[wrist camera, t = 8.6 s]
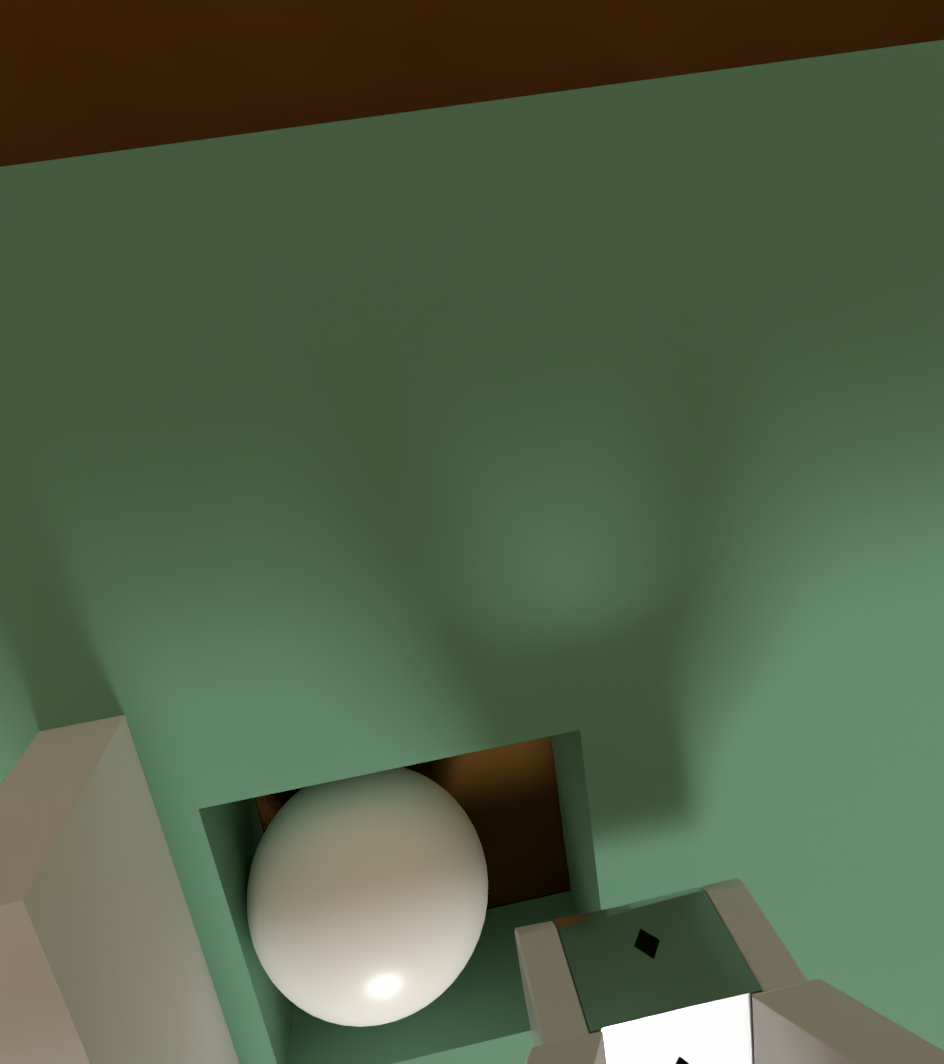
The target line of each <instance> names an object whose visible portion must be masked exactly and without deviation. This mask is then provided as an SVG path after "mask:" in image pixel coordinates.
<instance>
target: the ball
mask: <svg viewBox="0 0 944 1064" xmlns="http://www.w3.org/2000/svg"><path fill="white" fill-rule="evenodd" d="M487 902H488V876H487V866H486V860H485V856H484V852H483V848H482V845H481V842H480V840H479V837H478V835H477V833H476V830H475V828H474V826H473V824H472V822H471V821H470V819H469V817H468V816H467V814H466V812H465V811H464V810H463V809H462V807H461V806H460V805H459V803H458V802H457V801H456V800H455V799H454V798H453V797H452V796H451V795H450V794H449V793H448V792H447V791H446V790H445V789H444V788H442V787H441V786H440V785H438V784H437V783H436V782H434V781H433V780H431V779H429V778H427V777H426V776H424V775H422V774H420V773H418V772H415V771H412V770H410V769H407V768H404V767H399V768H394V769H390V770H385V771H380V772H375V773H370V774H365V775H361V776H356V777H351V778H346V779H341V780H336V781H332V782H327V783H322V784H317V785H312V786H307V787H303V788H302V789H301V790H299V791H298V792H297V793H296V794H295V795H294V796H292V797H291V798H290V799H289V800H288V801H287V802H286V803H285V805H284V806H283V807H282V808H281V809H280V810H279V811H278V813H277V814H276V815H275V817H274V818H273V820H272V821H271V822H270V824H269V826H268V827H267V829H266V831H265V833H264V835H263V836H262V838H261V840H260V843H259V845H258V847H257V850H256V852H255V855H254V858H253V862H252V866H251V870H250V873H249V880H248V888H247V918H248V925H249V930H250V934H251V939H252V943H253V946H254V949H255V951H256V953H257V956H258V958H259V960H260V963H261V965H262V967H263V968H264V970H265V971H266V973H267V975H268V976H269V978H270V979H271V981H272V982H273V983H274V985H275V986H276V987H277V988H278V989H279V990H280V991H281V993H282V994H283V995H284V996H285V997H287V998H288V999H289V1000H290V1001H291V1002H293V1003H294V1004H295V1005H296V1006H297V1007H299V1008H300V1009H302V1010H304V1011H305V1012H307V1013H309V1014H310V1015H312V1016H315V1017H317V1018H320V1019H322V1020H324V1021H327V1022H331V1023H335V1024H339V1025H344V1026H357V1027H364V1026H376V1025H382V1024H386V1023H390V1022H394V1021H397V1020H400V1019H402V1018H405V1017H407V1016H410V1015H412V1014H414V1013H415V1012H417V1011H419V1010H421V1009H422V1008H424V1007H426V1006H427V1005H429V1004H430V1003H431V1002H432V1001H434V1000H435V999H436V998H438V997H439V996H440V995H441V994H442V993H443V992H444V991H445V990H446V989H447V988H448V987H449V986H450V985H451V984H452V983H453V982H454V981H455V979H456V978H457V977H458V975H459V974H460V973H461V971H462V970H463V969H464V967H465V966H466V964H467V962H468V960H469V959H470V957H471V955H472V954H473V951H474V949H475V947H476V944H477V942H478V940H479V937H480V934H481V931H482V927H483V924H484V920H485V915H486V909H487Z"/></svg>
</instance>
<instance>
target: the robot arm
mask: <svg viewBox="0 0 944 1064" xmlns="http://www.w3.org/2000/svg"><path fill="white" fill-rule="evenodd" d="M515 939H516V946H517V952H518V958H519V964H520V971H521V977H522V983H523V990H524V996H525V1001H526V1007H527V1012H528V1018H529V1023H530V1029H531V1034H532V1039H533V1044H534V1047H533V1048H530V1051H529V1054H528V1057H527V1059H526V1062H525V1064H944V1051H943V1050H941V1049H939V1048H938V1047H936V1046H934V1045H933V1044H931V1043H929V1042H927V1041H926V1040H924V1039H922V1038H921V1037H919V1036H917V1035H916V1034H914V1033H912V1032H910V1031H909V1030H907V1029H905V1028H904V1027H902V1026H900V1025H898V1024H897V1023H895V1022H893V1021H892V1020H890V1019H888V1018H886V1017H885V1016H883V1015H881V1014H880V1013H878V1012H876V1011H874V1010H873V1009H871V1008H869V1007H868V1006H866V1005H864V1004H862V1003H861V1002H859V1001H857V1000H856V999H854V998H852V997H850V996H849V995H847V994H845V993H844V992H842V991H840V990H839V989H837V988H835V987H833V986H832V985H830V984H828V983H827V982H825V981H823V980H821V979H815V980H810V981H808V980H807V979H806V977H805V975H804V974H803V972H802V971H801V969H800V968H799V966H798V965H797V963H796V962H795V960H794V959H793V957H792V956H791V954H790V953H789V951H788V949H787V948H786V946H785V945H784V943H783V942H782V940H781V939H780V937H779V936H778V934H777V933H776V931H775V930H774V928H773V927H772V925H771V923H770V922H769V920H768V919H767V917H766V916H765V914H764V913H763V911H762V910H761V908H760V907H759V905H758V904H757V902H756V901H755V899H754V897H753V896H752V894H751V893H750V891H749V890H748V888H747V887H746V885H745V884H744V882H742V881H741V880H739V879H738V878H734V879H730V880H726V881H721V882H717V883H713V884H709V885H705V886H701V887H700V888H697V887H696V888H692V889H688V890H683V891H679V892H675V893H671V894H667V895H662V896H658V897H654V898H650V899H646V900H642V901H637V902H633V903H629V904H626V905H624V906H619V907H614V908H609V909H604V910H599V911H594V912H588V913H583V914H578V915H573V916H568V917H563V918H558V919H554V922H553V921H548V922H543V923H538V924H533V925H528V926H522V927H517V928H515Z"/></svg>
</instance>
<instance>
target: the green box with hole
mask: <svg viewBox="0 0 944 1064" xmlns="http://www.w3.org/2000/svg"><path fill="white" fill-rule="evenodd" d="M549 736H551V743H552V751H553V758H554V766H555V774H556V781H557V789H558V797H559V804H560V812H561V820H562V827H563V835H564V843H565V850H566V858H567V866H568V873H569V881H570V889H571V891H567V892H563V893H558V894H554V895H550V896H545V897H541V898H536V899H532V900H527V901H523V902H518V903H514V904H510V905H505V906H501V907H496V908H492V909H487V910H486V915H485V920H484V924H483V927H482V931H481V934H480V937H479V940H478V942H477V944H476V947H475V949H474V951H473V954H472V955H471V957H470V959H469V960H468V962H467V964H466V966H465V967H464V969H463V970H462V971H461V973H460V974H459V975H458V977H457V978H456V979H455V981H454V982H453V983H452V984H451V985H450V986H449V987H448V988H447V989H446V990H445V991H444V992H443V993H442V994H441V995H440V996H439V997H438V998H436V999H435V1000H434V1001H432V1002H431V1003H430V1004H429V1005H427V1006H426V1007H424V1008H422V1009H421V1010H419V1011H417V1012H415V1013H414V1014H412V1015H410V1016H407V1017H405V1018H402V1019H400V1020H397V1021H394V1022H390V1023H386V1024H382V1025H376V1026H364V1027H357V1026H344V1025H339V1024H335V1023H331V1022H327V1021H324V1020H322V1019H320V1018H317V1017H315V1016H312V1015H310V1014H309V1013H307V1012H305V1011H304V1010H302V1009H300V1008H299V1007H297V1006H296V1005H295V1004H294V1003H293V1002H291V1001H290V1000H289V999H288V998H287V997H285V996H284V995H283V994H282V993H281V991H280V990H279V989H278V988H277V987H276V986H275V985H274V983H273V982H272V981H271V979H270V978H269V976H268V975H267V973H266V971H265V970H264V968H263V967H262V965H261V963H260V960H259V958H258V956H257V953H256V951H255V949H254V946H253V943H252V939H251V934H250V930H249V925H248V918H247V888H248V880H249V873H250V870H251V866H252V862H253V858H254V855H255V852H256V850H257V847H258V845H259V843H260V840H261V838H262V836H263V835H264V830H263V827H262V823H261V820H260V816H259V812H258V809H257V805H256V802H255V798H254V797H259V796H264V795H269V794H274V793H278V792H283V791H288V790H293V789H298V788H303V787H307V786H312V785H317V784H322V783H327V782H332V781H336V780H341V779H346V778H351V777H356V776H361V775H365V774H370V773H375V772H380V771H385V770H390V769H394V768H399V767H404V766H409V765H414V764H419V763H423V762H428V761H433V760H438V759H443V758H448V757H452V756H457V755H462V754H467V753H472V752H477V751H481V750H486V749H491V748H496V747H501V746H506V745H510V744H515V743H520V742H525V741H530V740H535V739H539V738H544V737H549ZM734 878H738V879H739V880H741V881H742V882H744V884H745V885H746V887H747V888H748V890H749V891H750V893H751V894H752V896H753V897H754V899H755V901H756V902H757V904H758V905H759V907H760V908H761V910H762V911H763V913H764V914H765V916H766V917H767V919H768V920H769V922H770V923H771V925H772V927H773V928H774V930H775V931H776V933H777V934H778V936H779V937H780V939H781V940H782V942H783V943H784V945H785V946H786V948H787V949H788V951H789V953H790V954H791V956H792V957H793V959H794V960H795V962H796V963H797V965H798V966H799V968H800V969H801V971H802V972H803V974H804V975H805V977H806V979H807V980H808V981H810V980H815V979H821V980H823V981H825V982H827V983H828V984H830V985H832V986H833V987H835V988H837V989H839V990H840V991H842V992H844V993H845V994H847V995H849V996H850V997H852V998H854V999H856V1000H857V1001H859V1002H861V1003H862V1004H864V1005H866V1006H868V1007H869V1008H871V1009H873V1010H874V1011H876V1012H878V1013H880V1014H881V1015H883V1016H885V1017H886V1018H888V1019H890V1020H892V1021H893V1022H895V1023H897V1024H898V1025H900V1026H902V1027H904V1028H905V1029H907V1030H909V1031H910V1032H912V1033H914V1034H916V1035H917V1036H919V1037H921V1038H922V1039H924V1040H926V1041H927V1042H929V1043H931V1044H933V1045H934V1046H936V1047H938V1048H939V1049H941V1050H943V1051H944V40H938V41H930V42H923V43H915V44H908V45H900V46H893V47H886V48H878V49H871V50H863V51H856V52H849V53H841V54H834V55H826V56H819V57H811V58H804V59H797V60H789V61H782V62H774V63H767V64H760V65H752V66H745V67H737V68H730V69H722V70H715V71H708V72H700V73H693V74H685V75H678V76H670V77H663V78H656V79H648V80H641V81H633V82H626V83H619V84H611V85H604V86H596V87H589V88H581V89H574V90H567V91H559V92H552V93H544V94H537V95H530V96H522V97H515V98H507V99H500V100H492V101H485V102H478V103H470V104H463V105H455V106H448V107H440V108H433V109H426V110H418V111H411V112H403V113H396V114H389V115H381V116H374V117H366V118H359V119H351V120H344V121H337V122H329V123H322V124H314V125H307V126H300V127H292V128H285V129H277V130H270V131H262V132H255V133H248V134H240V135H233V136H225V137H218V138H210V139H203V140H196V141H188V142H181V143H173V144H166V145H159V146H151V147H144V148H136V149H129V150H121V151H114V152H107V153H99V154H92V155H84V156H77V157H69V158H62V159H55V160H47V161H40V162H32V163H25V164H18V165H10V166H3V167H0V1064H525V1062H526V1059H527V1057H528V1054H529V1051H530V1048H533V1047H534V1044H533V1039H532V1034H531V1029H530V1023H529V1018H528V1012H527V1007H526V1001H525V996H524V990H523V983H522V977H521V971H520V964H519V958H518V952H517V946H516V939H515V928H517V927H522V926H528V925H533V924H538V923H543V922H548V921H553V922H554V919H558V918H563V917H568V916H573V915H578V914H583V913H588V912H594V911H599V910H604V909H609V908H614V907H619V906H624V905H626V904H629V903H633V902H637V901H642V900H646V899H650V898H654V897H658V896H662V895H667V894H671V893H675V892H679V891H683V890H688V889H692V888H696V887H697V888H700V887H701V886H705V885H709V884H713V883H717V882H721V881H726V880H730V879H734Z"/></svg>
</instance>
